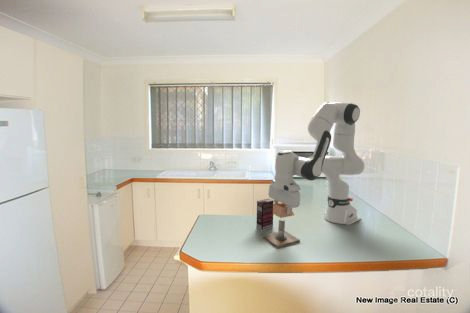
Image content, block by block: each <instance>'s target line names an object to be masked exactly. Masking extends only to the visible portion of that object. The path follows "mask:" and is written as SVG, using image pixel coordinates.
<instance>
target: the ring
mask: <svg viewBox="0 0 470 313" xmlns="http://www.w3.org/2000/svg"><path fill="white" fill-rule="evenodd" d="M287 208H288V207H287V205H286V204H283V203H281V202H278V203H276V204H275V203H273V216H276V217H278V218H280V219H282V218H288V217H292V215H293V208H292V209H291V210H290V214H286V213H285V212H286V210H287Z"/></svg>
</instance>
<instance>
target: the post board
mask: <svg viewBox="0 0 470 313" xmlns="http://www.w3.org/2000/svg"><path fill="white" fill-rule="evenodd" d="M285 224H286V221H285V219H279V220H278V228H277V229H278V230H277V231H278V232H274V233H270V234H266V235H262V239H263V240H265V241H266V242H267V243H269V244H270V245H272V246H273V247H275V248H276V249H280V248H283V247H287V246H290V245H294V244H298V243H300V242H301V240H300V239H299V238H297V237H296V236H294V235H293V234H291V233H289V232H288V231H286V230H285V226H286V225H285Z"/></svg>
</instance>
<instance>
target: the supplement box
mask: <svg viewBox="0 0 470 313" xmlns="http://www.w3.org/2000/svg"><path fill="white" fill-rule="evenodd" d="M273 204H274V199H272V198H271V199H270V198H265V199H261V200H256V229H257V230H259V231H261V232H263V231H266V229H267V230H269V229H272V228H274V214H273Z"/></svg>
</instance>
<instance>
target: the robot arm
mask: <svg viewBox="0 0 470 313" xmlns="http://www.w3.org/2000/svg"><path fill="white" fill-rule="evenodd" d="M360 113H361V110H360V107H359V106H358V105H357V104H355V103H352V102H350V103H348V102H341V101H340V102H336V101H335V102H330V101H329V102H323V103H322V104H321V105H320V106H319V108H318V109H317V110H316V111H315V112H314V114H313V116H312V117H311V119H310V121H309V123H308V126H307V131H308V134H309V135H310V136H311V138H313V139H314V140H315V141H317V142H316V146H315V148H314V151H313V152H312V153H313V154H312V156H310V157H303V156H300V155H298V154H296V153H294V151H293V150H290V149H289V150H288V149H286V150H280V151H278V152H277V154H276V156H275V157H276V158H275V165H274V170H275V175H274V179H273V180H271V181H270V184H269V188H268V198H269V199H270V198H271V200H273V201H274V202H273V204H276V203H283V204H286V205H287V207H288V208H287V210H286V212H285V213H286V214H290V210H291V209H292V210H293V209H295V208H299V206H301V204H300V203H301V193H300V191H301V185H299V184H298V183H297V182H296V181H294V176H296V177H299V178H303V179H306V180H308V181H314V180H315V181H316V180H317V179H318V178H319V177H320V176H321V174H322V175H324V176H325V178H326V180H327V182H328V194H327V203H326V205H325V206H326V207H325V212H324V214H323V215H324V217H323V219H324V220H326V221H327V222H330V223H333V224H340V225H348V226H350V225H352V224H354V223H356V222H359V221H360V220H361V219H362V218H361V217H360V215H357V214H358V212H357V208H355V207H354V206H353V205H352V204H351V202H353V200H354V198H353V197H349V193H350V191H349V190H350V185H349V184H348V182H346V181H345V180H343V179H341V178H340V176H342V175H343V176H357V175H361V174H362V173H363V172H364V170H365V162H364V160H363V159H362V158H361V157H359V155H358V154H357V153H356V150H355V136H356V134H355V133H356V122H357V121H358V120H359V118H360V115H361V114H360ZM334 124H335V125H334ZM333 127H334V131H333V139H332V134H331V130H332V128H333ZM332 140H333V142H332V146H333V147H334V149H335V150H337V151H339V152H341V153H342V154H341V156H339V155H327V153H328V150H329V148H330V144H331V141H332ZM326 155H327V156H326Z"/></svg>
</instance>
